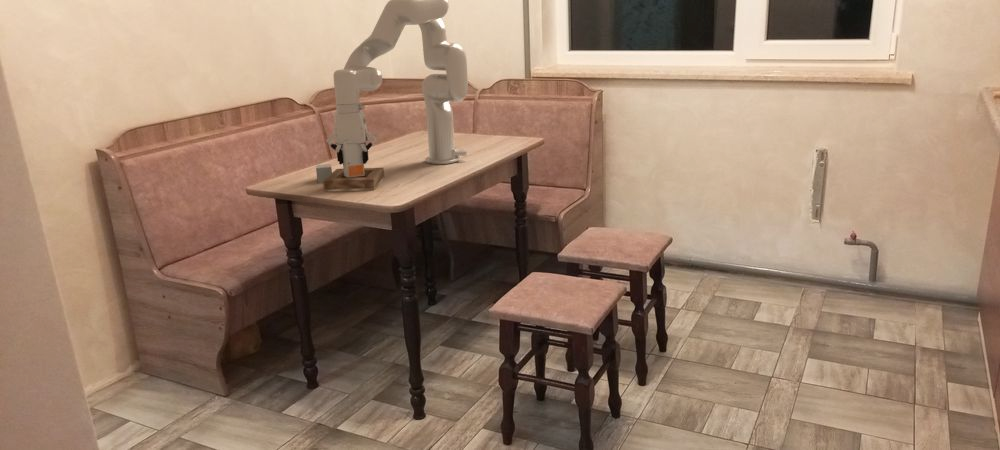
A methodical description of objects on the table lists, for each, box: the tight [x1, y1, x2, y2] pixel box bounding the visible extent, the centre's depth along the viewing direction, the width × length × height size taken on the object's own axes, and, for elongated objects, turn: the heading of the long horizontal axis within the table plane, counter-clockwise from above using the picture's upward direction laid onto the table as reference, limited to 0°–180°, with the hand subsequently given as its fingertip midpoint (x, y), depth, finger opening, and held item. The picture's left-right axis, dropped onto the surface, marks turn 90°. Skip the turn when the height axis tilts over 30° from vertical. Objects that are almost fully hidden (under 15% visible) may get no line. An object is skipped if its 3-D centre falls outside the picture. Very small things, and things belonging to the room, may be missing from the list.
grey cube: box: [315, 163, 333, 184], centre depth 257 cm, size 5×5×5 cm
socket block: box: [323, 167, 385, 192], centre depth 250 cm, size 16×17×4 cm
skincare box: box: [341, 141, 365, 178], centre depth 248 cm, size 6×4×12 cm
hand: (353, 162), depth 248 cm, fingers closed on skincare box, 7 cm apart
